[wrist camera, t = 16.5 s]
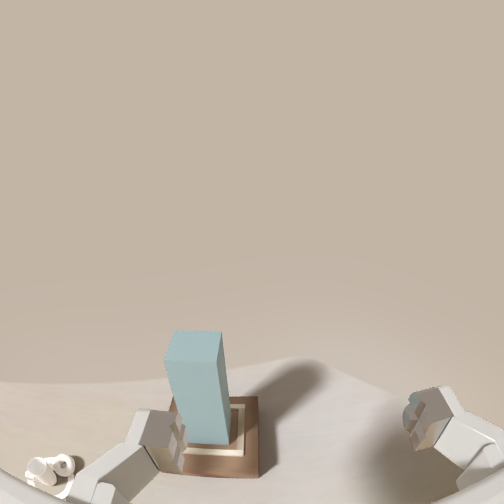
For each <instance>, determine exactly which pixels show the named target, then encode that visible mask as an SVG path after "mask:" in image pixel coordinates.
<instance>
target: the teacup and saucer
mask: <svg viewBox="0 0 504 504" xmlns="http://www.w3.org/2000/svg"><path fill="white" fill-rule="evenodd" d="M47 463H53V468H54V470H55V472H56V473H57V474H58V475H60V476H63V477H67V476H68V483H67V486H66V488H65V489H64V491H63V492H62V493H60V494H58V495H55V496H56V497H58V498H60V499H65V498H66V497H67V496H68V493H69V491H70V488H71V486H72V484H73V481H74V479H75V478H74V473H73V472H74V470H75V462H74V460H73V458H72V457H71V456H69V455H67V454H60V455H58V456H57V457H56V458H54V457H48V458H40V457H35V458H32V459H31V460H30V461H29V463H28V470H29V471H27V472H26V473H25V475H26V478H27V479H28V484H30V485H32V486H34V487H35V485H34V482H37V483H43V484H45V485H48V486H53V485H55V484H56V482H57V478H56V475H55V473H54V472H53V470H52V469H51V468H50V466H49V465H48V464H47ZM61 467H62V468H63V469H62V468H61ZM27 476H28V477H27ZM34 477H35V478H37V479H38V480H35V479H34Z"/></svg>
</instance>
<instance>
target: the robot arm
mask: <svg viewBox="0 0 504 504" xmlns="http://www.w3.org/2000/svg"><path fill="white" fill-rule="evenodd" d="M409 402H410V404H409V405H407V406H406V407H405V410H404V412H403V423H404V427H405V429H406V430H407V431H408V432H410V433H411V436H410V441H411V444H412V446H413V449H414V451H415V452H416V451H419V450H423V449H426V448H429V447H432V446H434V448H435V449H437V450H438V451H439V452H440V453H442V454H443V455H444V456H446V457H447V458H448V459H449V460H451V461H452V462H453V463H455V464H456V465H457V466H459V467H460V468H461V469H463V470H464V472H463V473H462V474H461V475H460V476H459V477H458V478H457V480H456V484H457V487H458V489H459V491H458V492H456V493H454V494H451V495H449V496H447V497H444V498H442V499H440V500H437V501H435V502H432V503H430V504H504V429H502V428H500V427H498V426H496V425H494V424H492V423H490V422H488V421H486V420H484V419H483V418H481V417H479V416H477V415H475V414H473V413H471V412H469V411H468V412H465V410H464V409H463V407H462V405H461V404H460V402H459V401H458V399H457V397H456V396H455V394H454V393H453V391H452V389H451V388H450V386H449V385H447V384H444V385H441V386H437V387H432V388H429V389H425V390H422V391H418V392H414V393H412V394H411V395H410V397H409ZM182 420H183V418H182V415H181V413H176V412H166V411H157V410H149V409H140V408H139V409H138V411H137V412H136V414H135V417H134V419H133V422H132V424H131V427H130V430H129V432H128V435H127V438H126V441H125V442H120V443H119V444H118V445H116V446H115V447H114V448H112V449H111V450H109V451H108V452H107V453H105V454H104V455H102V456H101V457H100V458H98V459H97V460H95V461H94V462H92V463H91V464H90V465H88V466H87V467H85V468H84V469H82V470H81V471H79V472H78V473H77V474H76V476H75V479H74V481H73V484H72V486H71V488H70V491H69V493H68V496H67V498H66V501H65V500H63V499H60V498H58V497H56V496H53V495H51V494H49V493H47V492H44V491H42V490H40V489H38V488H36V487H34V486H32V485H30V484H28V483H26V482H24V481H22V480H20V479H18V478H16V477H15V476H13V475H11V474H9V473H8V472H6V471H4V470H2V469H0V504H131V503H130V501H131V500H132V499H133V498H134V497H135V496H136V495H137V494H138V493H139V492H140V491H141V490H142V489H143V488H144V487H145V486H146V485H147V484H148V483H149V482H150V481H151V480H152V479H153V478H154V477H155V476H156V475H157V474H158V473H159V471H163V472H172V473H182V470H183V465H184V460H185V458H184V456H183V454H182V453H183V452H184V451H185V450H186V449H187V444H188V433H187V429H186V426H185V425H184V424H182Z"/></svg>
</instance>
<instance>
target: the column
mask: <svg viewBox="0 0 504 504" xmlns="http://www.w3.org/2000/svg"><path fill="white" fill-rule="evenodd" d="M164 364H165V367H166V371H167V375H168V379H169V382H170V386H171V389H172V393H173V396H174V400H175V403H176V406H177V409H178V413H181V415H182V418H183V420H182V424H184V425H185V426H186V429H187V433H188V443H200V444H218V445H229V441H230V428H231V408H230V400H229V392H228V384H227V376H226V367H225V358H224V350H223V340H222V332H221V331H177V330H176V331H175V332H174V334H173V337H172V339H171V342H170V344H169V347H168V350H167V352H166V355H165V357H164Z"/></svg>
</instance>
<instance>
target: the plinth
mask: <svg viewBox="0 0 504 504" xmlns="http://www.w3.org/2000/svg"><path fill="white" fill-rule="evenodd" d="M229 400H230V408H231V428H230V441H229V445H218V444H200V443H188V444H187V449H186V450H185V451H184V452H183V453H182V454H183V456H184V458H185V460H184V465H183V470H182V473H172V472H165V473H172V474H181V475H190V476H202V477H218V478H259V451H258V397H229ZM169 412H176V413H178V409H177V406H176V403H175V400H174V396H173V398H172V402H171V405H170V409H169ZM161 472H163V471H161Z"/></svg>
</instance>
